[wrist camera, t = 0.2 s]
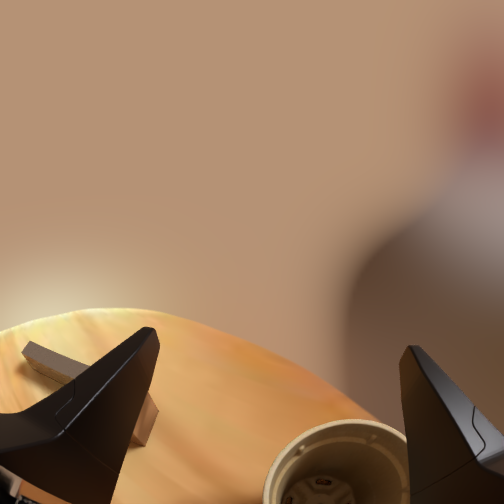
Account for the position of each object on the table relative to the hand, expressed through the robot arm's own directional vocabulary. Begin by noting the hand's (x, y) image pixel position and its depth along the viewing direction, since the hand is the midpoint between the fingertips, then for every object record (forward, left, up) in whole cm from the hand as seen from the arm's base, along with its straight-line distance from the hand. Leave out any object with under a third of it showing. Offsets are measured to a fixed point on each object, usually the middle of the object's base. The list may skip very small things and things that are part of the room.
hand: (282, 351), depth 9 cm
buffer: (+4, +22, -17) cm, 28 cm away
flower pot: (-3, -5, -17) cm, 18 cm away
